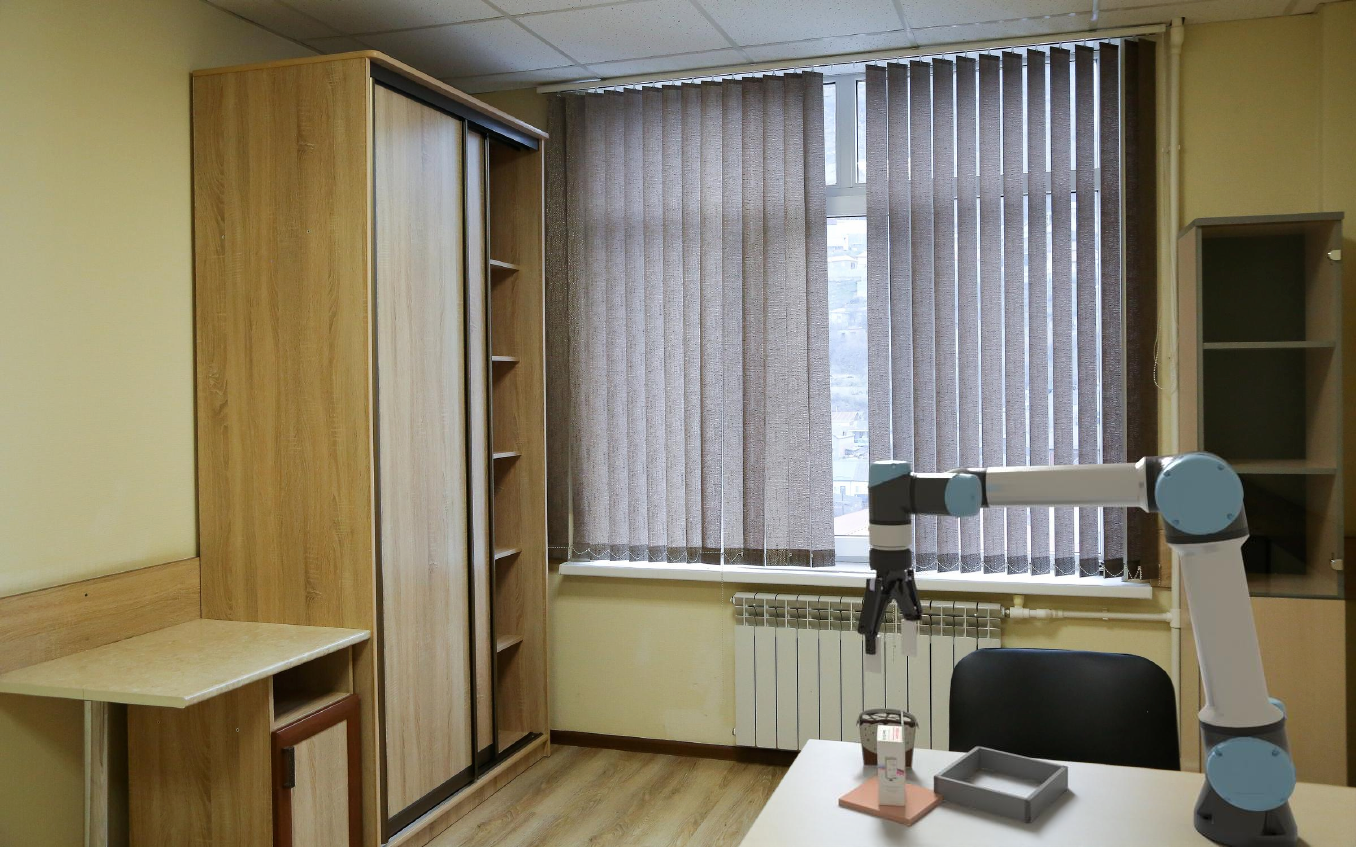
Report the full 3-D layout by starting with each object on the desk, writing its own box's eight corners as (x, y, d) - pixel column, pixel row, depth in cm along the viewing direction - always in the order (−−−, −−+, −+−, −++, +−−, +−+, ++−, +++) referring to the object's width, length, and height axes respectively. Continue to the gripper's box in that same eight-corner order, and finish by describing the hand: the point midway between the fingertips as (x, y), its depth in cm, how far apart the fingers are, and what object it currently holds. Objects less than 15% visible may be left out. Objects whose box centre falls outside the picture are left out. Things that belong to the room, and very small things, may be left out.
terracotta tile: (944, 798, 180) (944, 793, 180) (909, 824, 169) (909, 819, 169) (876, 780, 189) (876, 774, 189) (838, 803, 178) (838, 798, 178)
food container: (917, 757, 200) (917, 708, 200) (919, 768, 194) (919, 718, 194) (856, 754, 202) (855, 706, 202) (856, 765, 196) (855, 715, 196)
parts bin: (1067, 787, 184) (1067, 766, 184) (1029, 823, 169) (1029, 800, 169) (977, 765, 195) (977, 745, 195) (933, 797, 180) (933, 775, 180)
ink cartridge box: (877, 786, 183) (876, 708, 183) (904, 788, 182) (904, 709, 182) (877, 805, 175) (876, 723, 174) (905, 807, 174) (905, 724, 173)
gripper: (903, 536, 189) (904, 645, 190) (836, 554, 170) (838, 675, 171) (940, 539, 184) (941, 651, 185) (875, 557, 165) (876, 682, 166)
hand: (891, 663), depth 178 cm, fingers open, 13 cm apart
